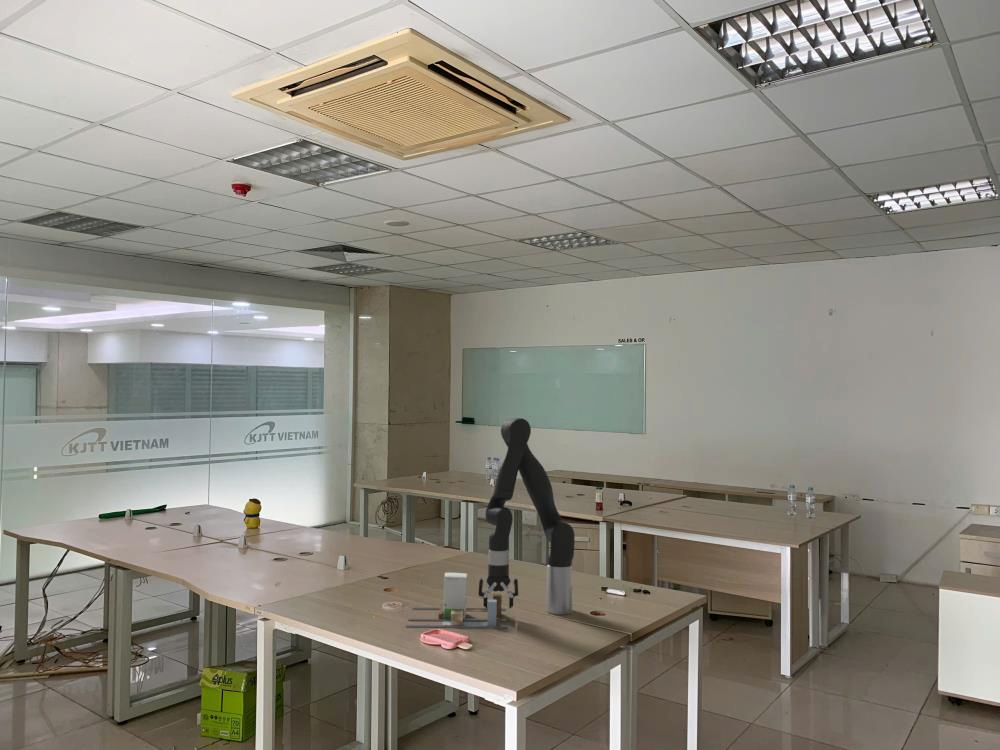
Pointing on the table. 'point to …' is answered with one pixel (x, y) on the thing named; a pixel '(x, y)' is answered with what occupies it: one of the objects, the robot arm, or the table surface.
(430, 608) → the guide rails
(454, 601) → the skincare box
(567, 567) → the robot arm
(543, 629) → the table surface
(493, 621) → the pale blue bent piece
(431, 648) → the table surface
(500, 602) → the walnut frame
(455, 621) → the beech cube
